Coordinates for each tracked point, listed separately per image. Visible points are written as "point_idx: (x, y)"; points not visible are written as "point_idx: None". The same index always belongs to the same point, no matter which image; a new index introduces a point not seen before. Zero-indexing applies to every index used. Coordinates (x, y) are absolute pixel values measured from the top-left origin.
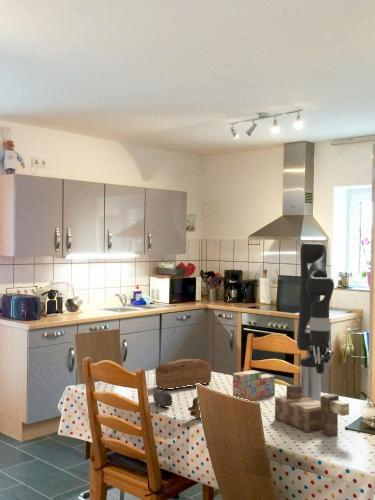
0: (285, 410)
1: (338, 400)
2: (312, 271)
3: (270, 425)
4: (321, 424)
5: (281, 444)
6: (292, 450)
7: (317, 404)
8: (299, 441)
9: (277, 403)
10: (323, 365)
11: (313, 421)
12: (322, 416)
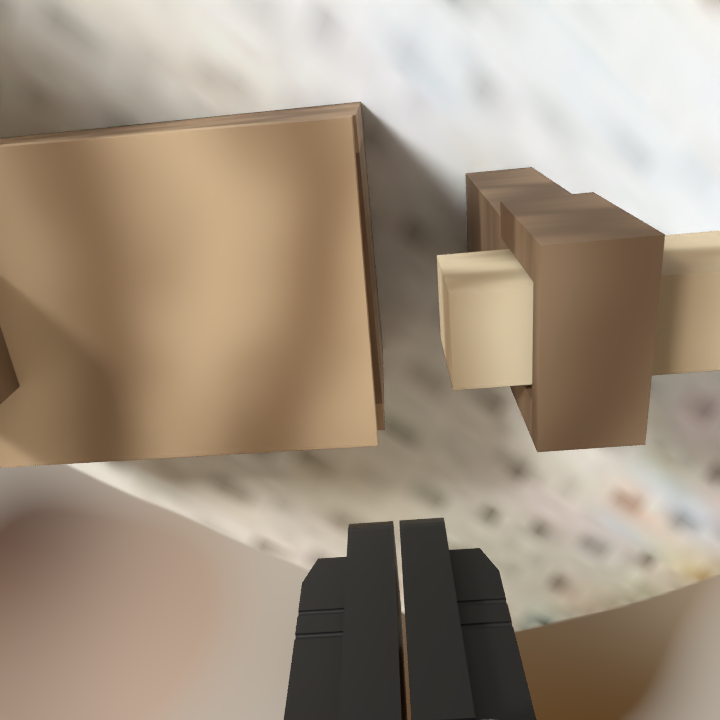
0: None
1: (696, 274)
2: None
3: (140, 476)
4: (369, 219)
5: None
6: (595, 589)
7: (279, 253)
8: (496, 484)
9: None
10: (533, 712)
11: (377, 320)
12: None
